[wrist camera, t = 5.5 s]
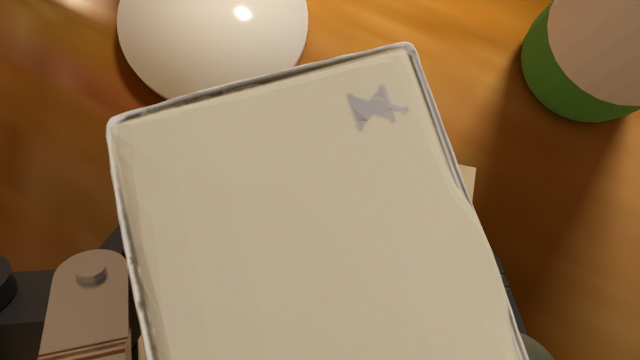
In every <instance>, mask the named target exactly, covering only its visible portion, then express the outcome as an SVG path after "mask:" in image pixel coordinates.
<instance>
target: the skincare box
mask: <svg viewBox="0 0 640 360" xmlns="http://www.w3.org/2000/svg"><path fill="white" fill-rule="evenodd" d="M106 140H107V146H108V153H109V160H110V171H111V177H112V182H113V188H114V194H115V200H116V208H117V215H118V219H119V224H120V230H121V237H122V242H123V247H124V252H125V257H126V266H127V270H128V274H129V278H130V283H131V287H132V292H133V297H134V302H135V307H136V312H137V316H138V320H139V324H140V329H141V334H142V340H143V345H144V349H145V353H146V357H147V360H529V357H528V355H527V352H526V349H525V346H524V344H523V341H522V338H521V336H520V333H519V330H518V328H517V324H516V321H515V318H514V315H513V311H512V308H511V305H510V303H509V300H508V297H507V294H506V291H505V288H504V285H503V282H502V278H501V275H500V272H499V269H498V266H497V264H496V261H495V258H494V255H493V252H492V249H491V247H490V245H489V242H488V240H487V238H486V235H485V233H484V231H483V228H482V226H481V224H480V221H479V219H478V217H477V214H476V212H475V209H474V207H473V204H472V202H471V199H470V197H469V194H468V191H467V188H466V186H465V183H464V180H463V177H462V174H461V171H460V168H459V166H458V163H457V160H456V157H455V154H454V152H453V149H452V146H451V144H450V141H449V139H448V136H447V133H446V131H445V128H444V126H443V123H442V120H441V117H440V114H439V111H438V109H437V106H436V103H435V100H434V98H433V95H432V92H431V90H430V87H429V84H428V82H427V79H426V77H425V74H424V72H423V69H422V66H421V62H420V59H419V55H418V53H417V51H416V49H415V48H414V46H413V44H411V43H408V42H406V41H405V42H398V43H394V44H390V45H386V46H381V47H378V48H375V49H371V50H367V51H362V52H357V53H351V54H346V55H342V56H338V57H335V58H331V59H327V60H323V61H318V62H314V63H309V64H304V65H299V66H296V67H292V68H288V69H284V70H280V71H277V72H272V73H267V74H264V75H260V76H255V77H251V78H246V79H242V80H238V81H235V82H231V83H227V84H223V85H219V86H215V87H212V88H208V89H204V90H200V91H196V92H192V93H189V94H186V95H182V96H178V97H174V98H172V99H169V100H166V101H163V102H161V103H158V104H155V105H151V106H147V107H143V108H139V109H135V110H131V111H128V112H125V113H122V114H119V115H116V116H114V117H111V118H110V120H109V121H108V123H107V125H106Z"/></svg>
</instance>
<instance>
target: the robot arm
mask: <svg viewBox="0 0 640 360" xmlns="http://www.w3.org/2000/svg"><path fill="white" fill-rule="evenodd" d="M492 252H493V250H492ZM493 255H494V258H495V261H496V264H497V266H498V269H499V272H500V275H501V278H502V282H503V285H504V288H505V291H506V294H507V297H508V300H509V303H510V305H511V308H512V311H513V315H514V318H515V321H516V324H517V328H518V330H519V333H520V336H521V338H522V341H523V344H524V346H525V349H526V352H527V355H528V357H529V360H554V358H553V357H552V356H551V354H550V353H549V352H548V351H547V350H546V349H545V348H544V347H543V346H542V345H541V344H540V343H538V342H537V341H536V340H534V339H532V338H531V337H529V336H528V334H527V332H526V329H525V326H524V324H523V321H522V318H521V316H520V313H519V310H518V307H517V305H516V302H515V299H514V297H513V294H512V291H511V289H509V283H508V281H507V278H506V277H505V272H504V270H503V267H502V264H501V262H500V259H499V257H498V256H497V255H496V254H495V253H494V252H493ZM140 336H141V329H140V324H139V320H138V316H137V312H136V307H135V302H134V297H133V292H132V287H131V283H130V278H129V274H128V270H127V266H126V257H125V252H124V247H123V242H122V237H121V230H120V225H119V226H118V227H117V228H116V229H115V230H114V232H113V233H112V234H111V235H110V236H109V237H108V239H107V240H106V241H105V242H104V243H103V244H102V246H101V247H100V248H99V249H97V250H89V251H85V252H82V253H79V254H76V255H74V256H72V257H70V258H69V259H67V260H66V261H64V262H63V263H62V264H61V265H60V266H59V267H58V268H57V269H56V270H44V271H25V272H13V270H12V267H11V265H10V262H9V261H8V260H7V259H6V258H5V257H3V256H1V255H0V360H140V347H139V338H140Z"/></svg>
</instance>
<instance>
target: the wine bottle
mask: <svg viewBox="0 0 640 360" xmlns="http://www.w3.org/2000/svg"><path fill="white" fill-rule="evenodd" d="M521 64H522V72H523V75H524V77H525V80H526V83H527V85H528V87H529V88H530V90H531V91H532V93H533V94H534V96H535V97H536V98H537V99H538V100H539V101H540V102H541V103H542V104H543V105H544V106H545V107H546V108H548V109H549V110H551V111H553V112H554V113H556V114H558V115H560V116H561V117H564V118H567V119H571V120H574V121H578V122H594V123H599V122H604V121H609V120H613V119H617V118H621V117H624V116H626V115H628V114H630V113H632V112H635V111H637V110H639V109H640V0H554V1H553V2H552V3H551V4H550V5H549V6H548V7H547V8H546V9H545V10H544V11H543V12H542V13H541V14H540V15H539V16H538V17H537V18H536V20H535V21H534V22H533V24H532V26H531V27H530V29H529V31H528V33H527V35H526V36H525V38H524V42H523V47H522V52H521Z"/></svg>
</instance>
